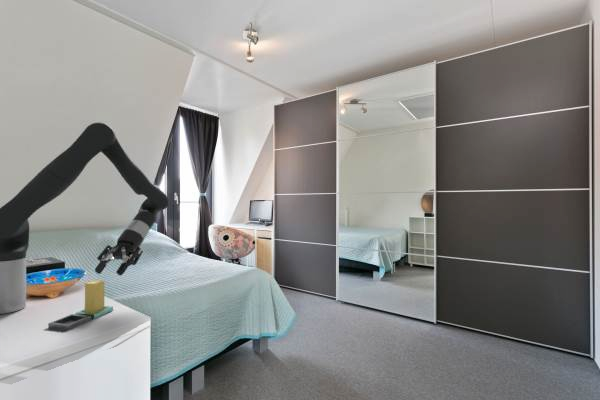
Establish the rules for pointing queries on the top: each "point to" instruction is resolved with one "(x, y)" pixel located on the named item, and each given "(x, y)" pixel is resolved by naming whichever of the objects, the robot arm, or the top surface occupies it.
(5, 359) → the top surface
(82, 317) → the base
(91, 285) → the peg
